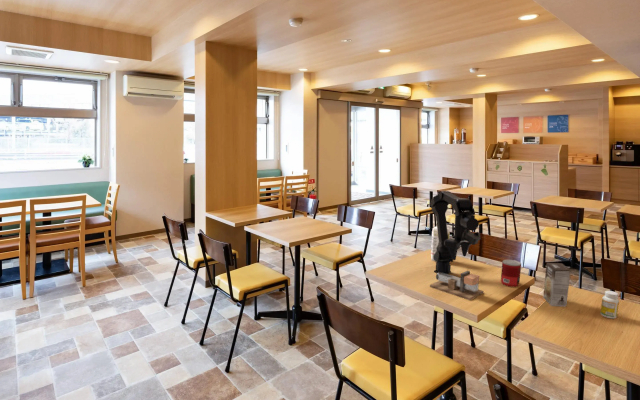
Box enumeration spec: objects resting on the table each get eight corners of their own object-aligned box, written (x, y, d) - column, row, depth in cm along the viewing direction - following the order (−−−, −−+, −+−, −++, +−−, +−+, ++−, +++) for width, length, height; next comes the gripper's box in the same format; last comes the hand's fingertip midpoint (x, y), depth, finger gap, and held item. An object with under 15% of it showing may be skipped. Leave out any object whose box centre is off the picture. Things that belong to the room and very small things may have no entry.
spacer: (463, 283, 173) (464, 276, 172) (470, 279, 177) (471, 273, 176) (472, 285, 170) (472, 279, 169) (479, 282, 174) (479, 275, 173)
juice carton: (443, 263, 216) (445, 230, 213) (429, 260, 222) (430, 227, 219) (449, 260, 222) (451, 227, 218) (435, 257, 227) (436, 225, 224)
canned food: (521, 287, 182) (523, 265, 180) (502, 286, 184) (504, 264, 182) (516, 281, 189) (518, 260, 188) (498, 280, 191) (500, 259, 189)
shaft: (435, 280, 185) (436, 272, 184) (440, 278, 187) (440, 271, 187) (473, 292, 171) (474, 284, 170) (478, 290, 173) (478, 282, 172)
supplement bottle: (608, 319, 151) (611, 295, 149) (596, 313, 156) (599, 290, 155) (620, 318, 152) (623, 294, 150) (608, 312, 157) (611, 289, 156)
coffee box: (542, 297, 172) (545, 262, 169) (558, 298, 170) (561, 262, 168) (550, 306, 163) (554, 269, 160) (567, 307, 161) (571, 270, 159)
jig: (429, 286, 183) (430, 267, 181) (443, 280, 191) (444, 262, 189) (469, 300, 168) (471, 279, 166) (483, 293, 176) (484, 272, 174)
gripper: (467, 231, 169) (465, 266, 172) (487, 225, 181) (485, 258, 184) (444, 227, 178) (442, 260, 180) (465, 221, 190) (463, 252, 192)
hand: (459, 258), depth 184 cm, fingers open, 9 cm apart
